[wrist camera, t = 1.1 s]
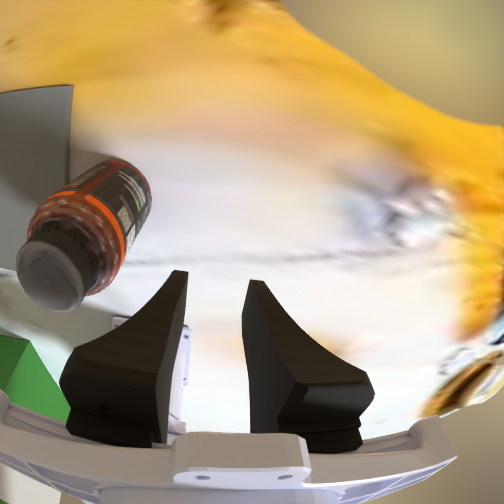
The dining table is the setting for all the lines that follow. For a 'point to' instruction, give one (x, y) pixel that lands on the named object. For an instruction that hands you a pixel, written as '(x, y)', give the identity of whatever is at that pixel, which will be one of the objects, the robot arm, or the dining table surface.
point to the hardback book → (33, 398)
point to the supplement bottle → (83, 235)
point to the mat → (30, 159)
